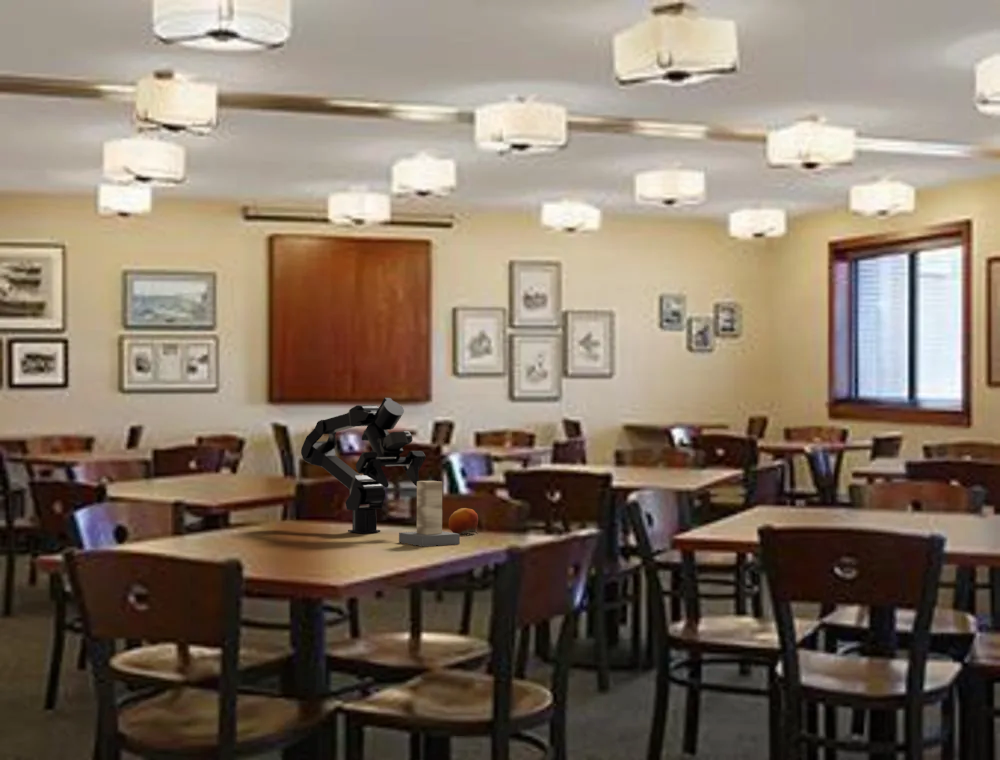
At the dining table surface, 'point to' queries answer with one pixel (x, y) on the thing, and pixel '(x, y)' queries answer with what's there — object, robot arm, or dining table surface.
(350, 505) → the robot arm
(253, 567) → the dining table surface
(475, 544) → the dining table surface
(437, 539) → the plinth
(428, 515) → the maple post
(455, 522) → the fruit
